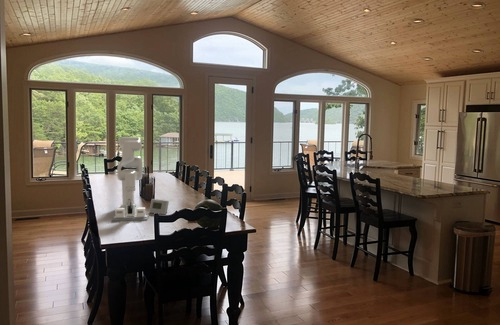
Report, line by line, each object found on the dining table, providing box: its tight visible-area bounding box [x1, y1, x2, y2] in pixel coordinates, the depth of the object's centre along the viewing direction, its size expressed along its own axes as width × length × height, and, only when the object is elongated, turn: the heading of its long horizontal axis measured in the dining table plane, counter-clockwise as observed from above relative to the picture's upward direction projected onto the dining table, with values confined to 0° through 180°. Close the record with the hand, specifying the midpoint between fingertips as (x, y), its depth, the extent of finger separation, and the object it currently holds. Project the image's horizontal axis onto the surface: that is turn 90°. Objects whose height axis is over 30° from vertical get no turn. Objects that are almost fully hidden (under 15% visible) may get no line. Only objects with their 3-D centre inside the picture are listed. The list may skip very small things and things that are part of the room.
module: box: [125, 203, 136, 216], centre depth 299 cm, size 5×6×8 cm
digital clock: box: [148, 198, 169, 216], centre depth 317 cm, size 16×9×11 cm, turn 57°
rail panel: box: [111, 206, 150, 222], centre depth 299 cm, size 13×25×8 cm, turn 98°
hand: (130, 212), depth 299 cm, fingers closed on module, 5 cm apart
